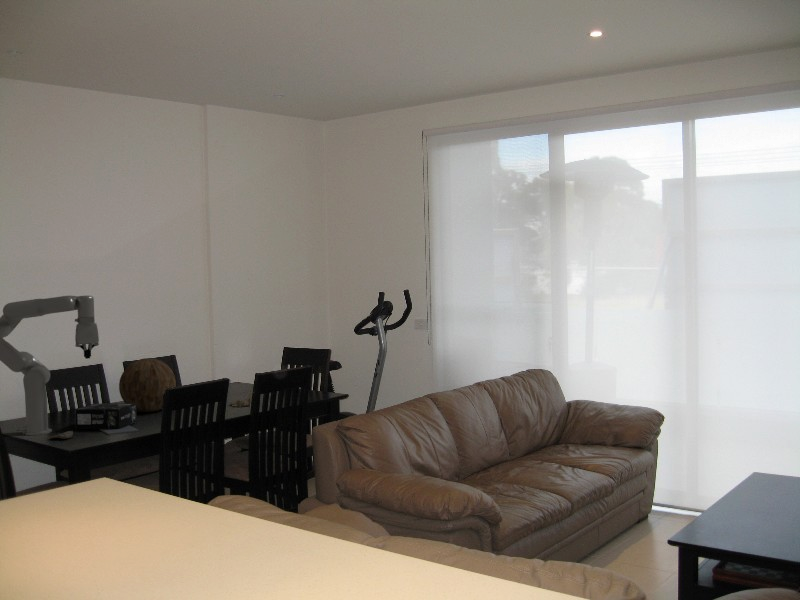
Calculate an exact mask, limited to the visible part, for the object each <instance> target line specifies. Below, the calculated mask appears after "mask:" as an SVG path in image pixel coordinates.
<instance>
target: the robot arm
mask: <svg viewBox="0 0 800 600" xmlns="http://www.w3.org/2000/svg"><path fill="white" fill-rule="evenodd" d="M94 299H95V298H94V296H92V295H79V296H77V295H61V296H56V297H47V298H32V299H28V300H27V299H26V300H19V301H13V302H8V303H6V304H5V305H4V306H3V309H2V315H1V316H0V362H2V363H3V364H4V365H5V366H6V367H7V368H8V369H9V370H10V371H12V372H14V373H21V374H23V377H22V379H23V380H22V381H23V382H22V383H23V389H24V403H25V423H24V425H22V426H15V428H14V429H15V432H22V434H23V435H24V434H25V435H24V436H39V435H46V434H49V433H52V431H53V430H52V428H49V423H48V421H49V420H48V417H49V416H48V414H49V413H48V397H47V395H48V394H47V393H48V392H47V387H46V384H47V383H48V382H49V381H50V379H51V372H50V370H49V368H48V367H47V366H46V365H44V364H43V363H42V362H41V361H40V360H39V359H37V358H36V357H35V356H33V354H31V353H30V352H27V351H20V350H18V349H16V347H14V346H13V345H12V344H10V342H8V341H6V340H5V338H6V337H8V336H9V335H10V334H11V333H12V332H13V331H14V330H15V329H16V328H17V326H18V325H19V324H20V323H21V321H23V319H29V318H37V317H43V316H46V315H49V314H50V315H51V314H59V313H64V312H65V313H66V312H73V311H77V318H74V322H75V323H77V324H76V326H75V336H74V337H75V339H74V341H75V345H74V346H75V347H77V348H80V349H81V350H83V357H84V358H85V359H91V357H92V350H93V349H94V347H97V346H99V345H100V343H99V341H100V339H99V338H100V337H99V329H98V325H97V323H96V322H95V320H96V319H95V300H94Z"/></svg>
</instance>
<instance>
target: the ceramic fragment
mask: <svg viewBox="0 0 800 600" xmlns="http://www.w3.org/2000/svg"><path fill="white" fill-rule="evenodd" d="M73 436H74V431H73V430H68V431H65V432H62V433H59V434H56V435H50V436H49V437H48V438H49V439H56V438H57V439H58V438H59V439H70V438H72V437H73Z"/></svg>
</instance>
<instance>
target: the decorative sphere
mask: <svg viewBox="0 0 800 600" xmlns="http://www.w3.org/2000/svg"><path fill="white" fill-rule="evenodd" d="M172 387H176V388H177V380H176V375H175V373H174V372H173V369H172V368H171V367H170V366H169V365H168V364H167V363H165V362H164V361H162V360H159V359H157V358H151V357H150V358H149V357H147V358H141V359H138V360H135V361H132V362H131V363H130V364H129V365H128V366H126V368H125V369H124V370H123V372H122V373H121V376H120V378H119V383H118V390H119V391H118V392H119V394H120V397H121V399H122V401H123V402H124V403H136V410H137V413H143V412H147V413H155V412H158V411H160V410H162V409H163V408H162V405H163V395H164V393H165V390H166V389H168V388H172Z"/></svg>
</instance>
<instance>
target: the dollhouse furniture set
mask: <svg viewBox="0 0 800 600" xmlns="http://www.w3.org/2000/svg"><path fill="white" fill-rule="evenodd" d="M252 392H253V393H254V390H253V391H250V392H249V395H248V396H249V398H248V399H246V400H247V401H242V400H241V399H238V400H236V402H234V403H233V402H231V403H229V405H237V406H236V407H239V406H242V407H243V406H244V405H246V404H245V403H247V404H248V407H250V404H251V397H252ZM229 405H228V406H229Z"/></svg>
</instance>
